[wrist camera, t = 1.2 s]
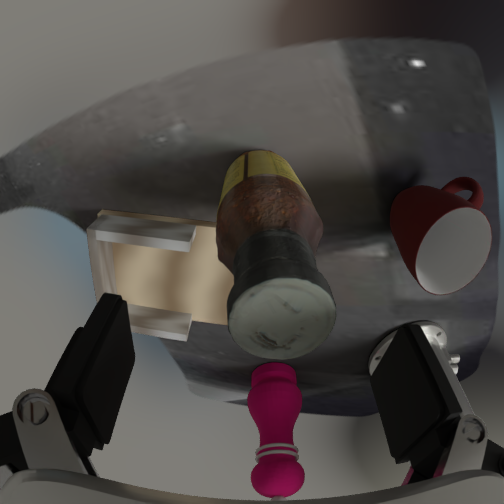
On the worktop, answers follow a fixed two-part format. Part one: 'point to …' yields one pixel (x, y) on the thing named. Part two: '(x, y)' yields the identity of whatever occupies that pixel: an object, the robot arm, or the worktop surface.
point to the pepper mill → (276, 430)
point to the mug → (442, 234)
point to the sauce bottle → (272, 259)
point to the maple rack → (160, 270)
